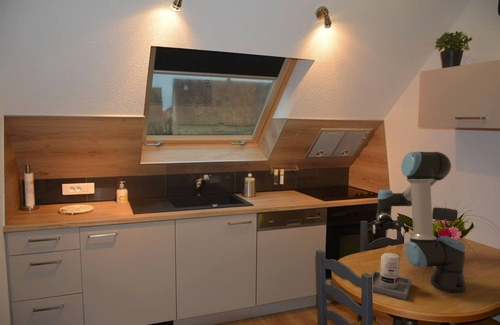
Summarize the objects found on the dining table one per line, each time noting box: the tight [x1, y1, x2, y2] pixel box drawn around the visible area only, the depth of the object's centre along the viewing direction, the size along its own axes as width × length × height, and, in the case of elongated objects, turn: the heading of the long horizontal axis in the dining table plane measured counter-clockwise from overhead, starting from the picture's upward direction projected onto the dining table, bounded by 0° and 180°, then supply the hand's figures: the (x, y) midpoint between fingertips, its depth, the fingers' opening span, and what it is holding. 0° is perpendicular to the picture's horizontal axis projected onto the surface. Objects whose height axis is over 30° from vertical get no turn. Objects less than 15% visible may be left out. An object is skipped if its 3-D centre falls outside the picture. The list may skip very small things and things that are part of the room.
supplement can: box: [379, 252, 401, 289], centre depth 174 cm, size 8×8×15 cm
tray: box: [370, 270, 413, 302], centre depth 175 cm, size 18×18×3 cm
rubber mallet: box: [432, 206, 459, 221], centre depth 209 cm, size 12×8×30 cm, turn 65°
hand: (389, 232), depth 182 cm, fingers open, 13 cm apart
